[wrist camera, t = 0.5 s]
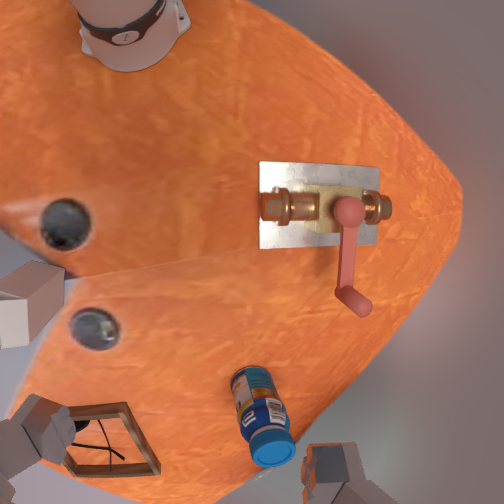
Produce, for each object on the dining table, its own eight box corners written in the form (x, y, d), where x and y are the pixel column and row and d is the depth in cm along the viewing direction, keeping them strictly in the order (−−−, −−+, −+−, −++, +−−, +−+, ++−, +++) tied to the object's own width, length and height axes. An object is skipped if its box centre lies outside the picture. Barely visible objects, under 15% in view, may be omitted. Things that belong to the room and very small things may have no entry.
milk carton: (65, 267, 48) (13, 310, 30) (63, 305, 49) (18, 359, 31) (31, 259, 46) (-27, 296, 28) (31, 296, 47) (-21, 344, 29)
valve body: (258, 247, 53) (271, 262, 44) (258, 162, 50) (272, 159, 41) (374, 243, 57) (402, 254, 48) (377, 167, 54) (407, 168, 45)
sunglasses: (103, 466, 59) (100, 480, 54) (55, 435, 55) (50, 448, 50) (140, 440, 59) (138, 456, 54) (88, 405, 55) (82, 420, 50)
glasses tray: (34, 408, 52) (29, 417, 49) (125, 401, 55) (123, 412, 52) (76, 467, 58) (73, 477, 54) (160, 464, 61) (160, 474, 58)
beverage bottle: (277, 387, 60) (308, 458, 41) (239, 403, 60) (258, 477, 41) (263, 357, 58) (293, 429, 39) (222, 374, 57) (237, 450, 38)
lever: (334, 195, 43) (358, 199, 37) (360, 196, 44) (387, 200, 37) (328, 300, 47) (348, 319, 40) (353, 297, 48) (376, 315, 41)
